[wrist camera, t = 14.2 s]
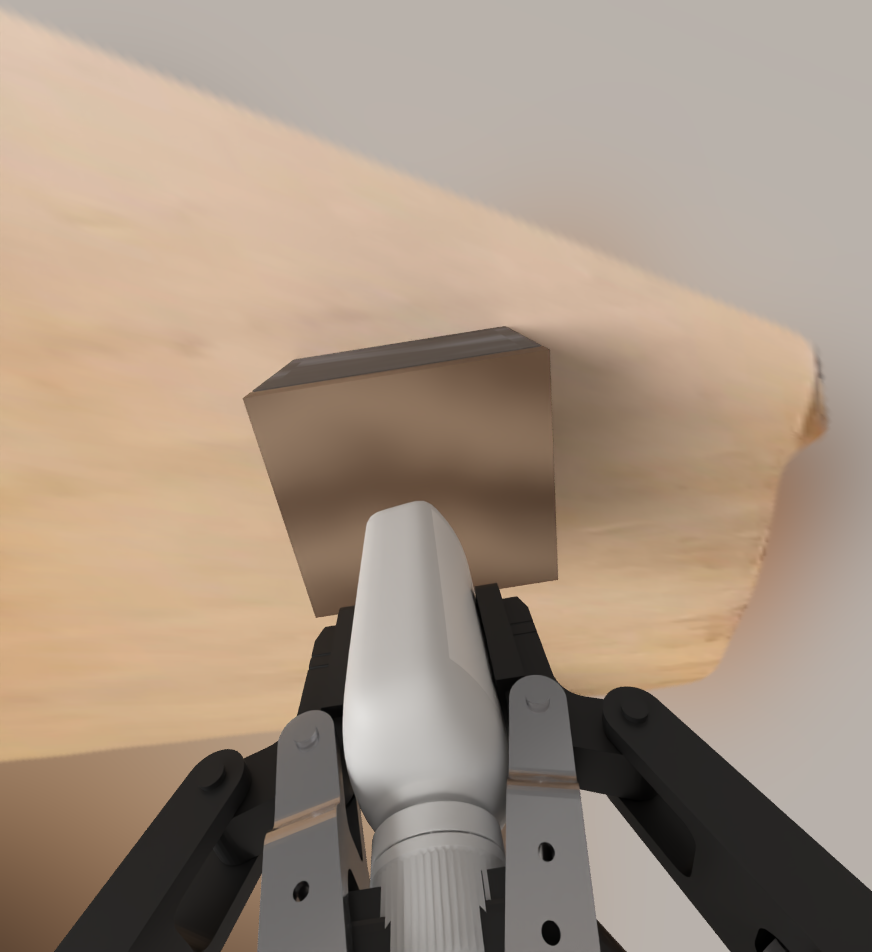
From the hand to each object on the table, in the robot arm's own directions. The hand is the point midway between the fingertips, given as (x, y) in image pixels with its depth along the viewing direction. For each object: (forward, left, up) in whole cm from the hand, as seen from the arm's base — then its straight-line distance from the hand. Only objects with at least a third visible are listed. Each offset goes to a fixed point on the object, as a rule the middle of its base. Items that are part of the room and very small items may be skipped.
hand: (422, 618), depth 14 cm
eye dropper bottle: (0, 0, -3) cm, 3 cm away
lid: (0, 0, -9) cm, 9 cm away
